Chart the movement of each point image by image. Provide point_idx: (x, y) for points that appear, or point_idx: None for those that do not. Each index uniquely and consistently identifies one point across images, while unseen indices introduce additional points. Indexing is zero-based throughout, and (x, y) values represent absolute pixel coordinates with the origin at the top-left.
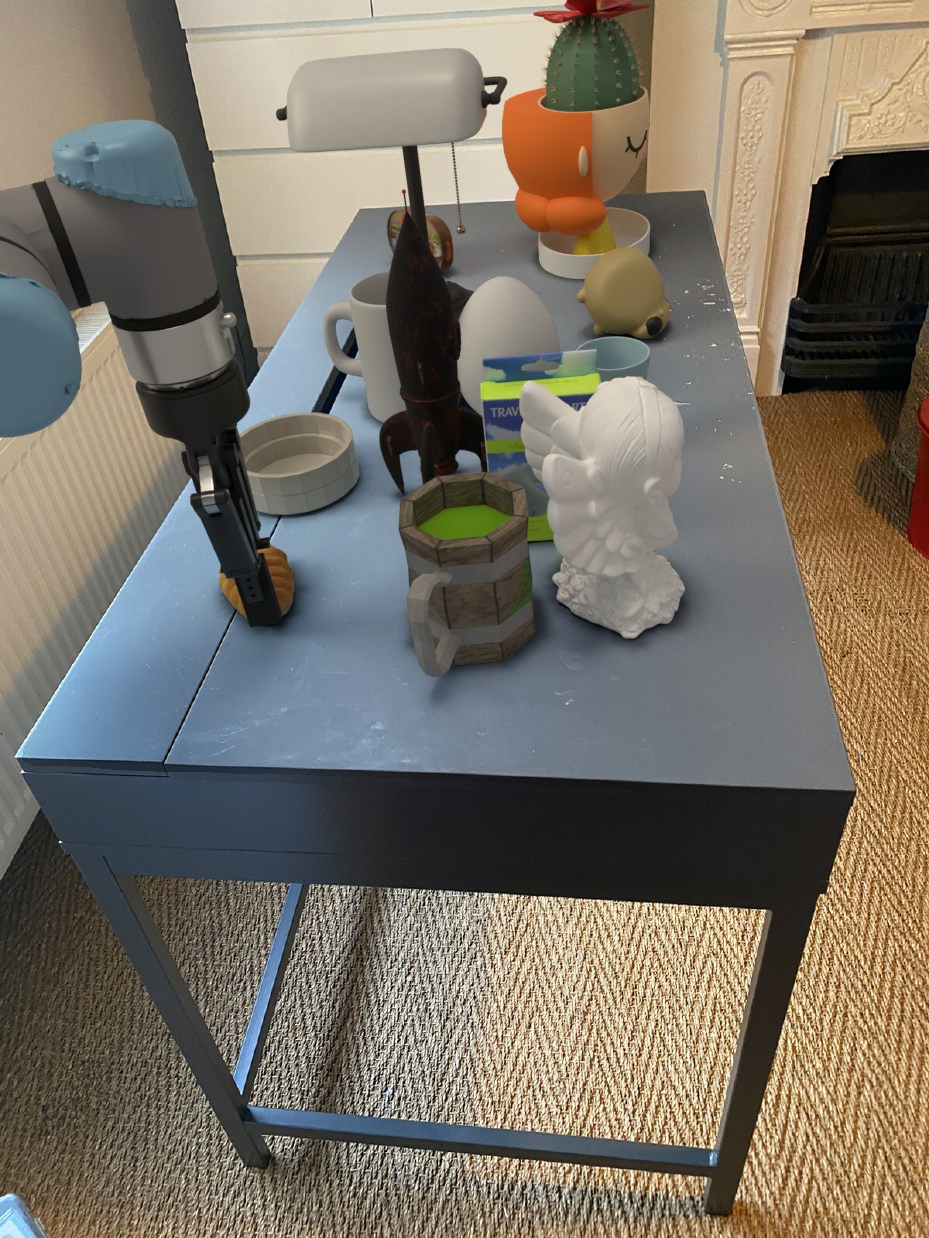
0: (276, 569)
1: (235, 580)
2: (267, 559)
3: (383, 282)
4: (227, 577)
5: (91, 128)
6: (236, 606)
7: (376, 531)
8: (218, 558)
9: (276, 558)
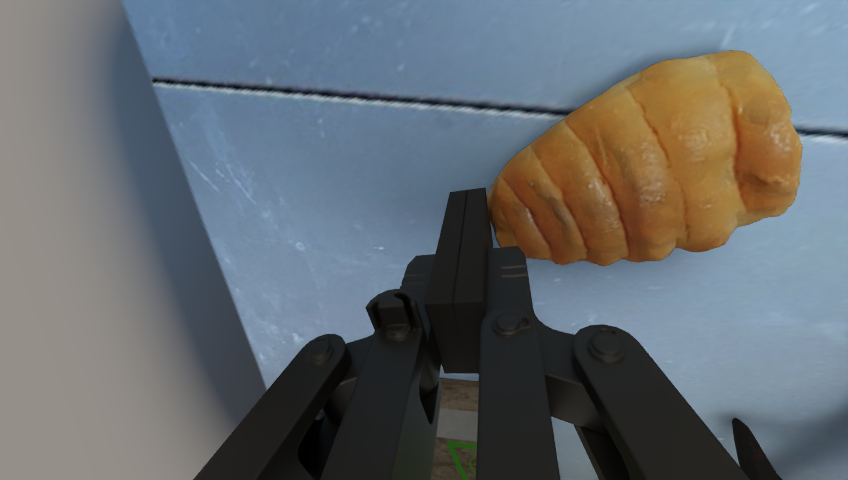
0: (612, 253)
1: (431, 273)
2: (652, 242)
3: None
4: (304, 350)
5: None
6: (538, 141)
7: (755, 349)
8: (224, 444)
9: (656, 255)
